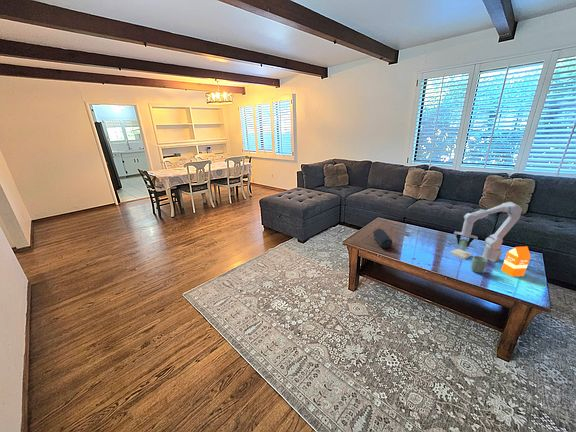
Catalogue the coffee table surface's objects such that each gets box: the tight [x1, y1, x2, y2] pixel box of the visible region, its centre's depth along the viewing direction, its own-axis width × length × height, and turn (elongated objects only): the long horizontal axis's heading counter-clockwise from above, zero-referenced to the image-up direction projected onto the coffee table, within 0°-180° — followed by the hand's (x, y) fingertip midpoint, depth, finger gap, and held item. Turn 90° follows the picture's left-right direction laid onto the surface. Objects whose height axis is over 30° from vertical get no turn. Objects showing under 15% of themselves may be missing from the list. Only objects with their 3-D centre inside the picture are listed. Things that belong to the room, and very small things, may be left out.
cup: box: [470, 255, 489, 274], centre depth 162 cm, size 8×8×10 cm
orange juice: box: [501, 246, 531, 277], centre depth 158 cm, size 8×9×20 cm
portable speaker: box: [372, 228, 393, 249], centre depth 206 cm, size 25×10×10 cm, turn 178°
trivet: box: [450, 248, 473, 260], centre depth 185 cm, size 10×10×3 cm
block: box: [457, 238, 469, 250], centre depth 182 cm, size 4×4×6 cm
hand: (463, 245), depth 183 cm, fingers closed on block, 6 cm apart
